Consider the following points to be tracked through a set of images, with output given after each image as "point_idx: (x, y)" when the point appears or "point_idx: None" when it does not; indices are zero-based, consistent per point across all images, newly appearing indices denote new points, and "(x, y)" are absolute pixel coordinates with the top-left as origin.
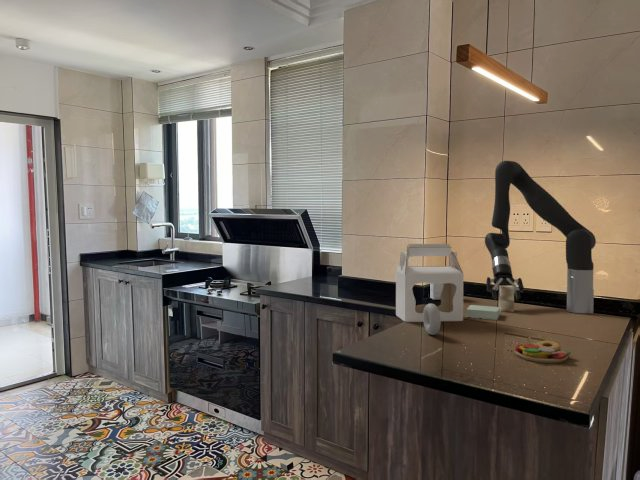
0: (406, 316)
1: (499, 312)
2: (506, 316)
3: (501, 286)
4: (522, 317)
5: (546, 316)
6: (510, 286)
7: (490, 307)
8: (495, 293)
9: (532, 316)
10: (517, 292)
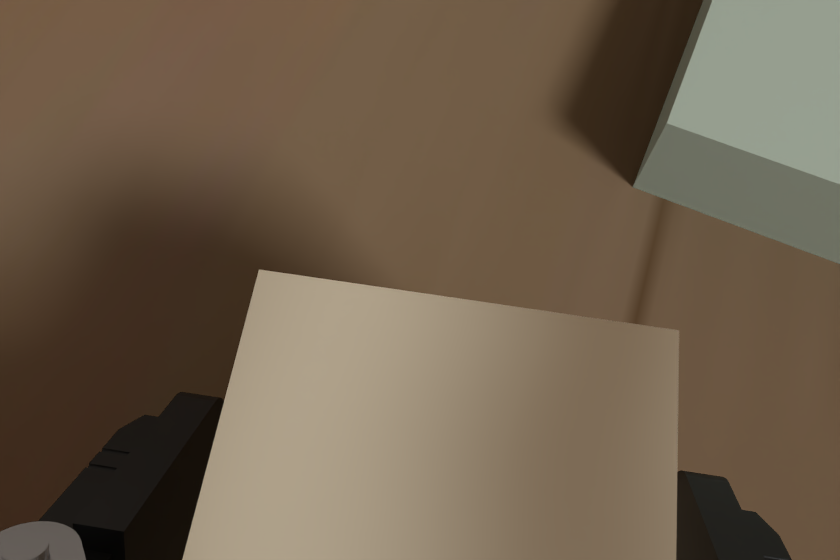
0: None
1: (656, 132)
2: (572, 94)
3: (647, 423)
4: (395, 45)
5: (59, 105)
6: (313, 434)
7: (817, 86)
8: (736, 542)
9: (240, 101)
10: (122, 486)
